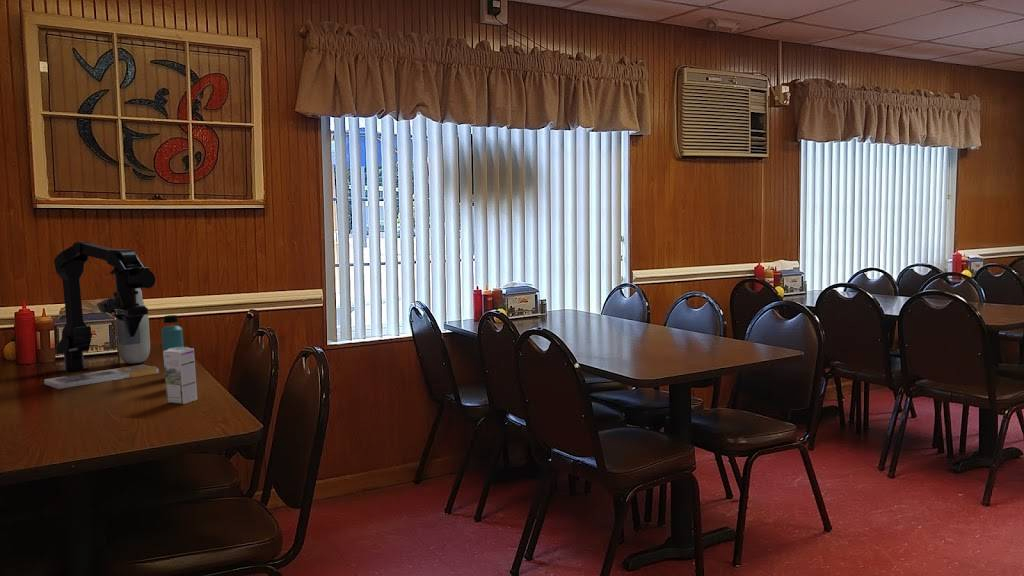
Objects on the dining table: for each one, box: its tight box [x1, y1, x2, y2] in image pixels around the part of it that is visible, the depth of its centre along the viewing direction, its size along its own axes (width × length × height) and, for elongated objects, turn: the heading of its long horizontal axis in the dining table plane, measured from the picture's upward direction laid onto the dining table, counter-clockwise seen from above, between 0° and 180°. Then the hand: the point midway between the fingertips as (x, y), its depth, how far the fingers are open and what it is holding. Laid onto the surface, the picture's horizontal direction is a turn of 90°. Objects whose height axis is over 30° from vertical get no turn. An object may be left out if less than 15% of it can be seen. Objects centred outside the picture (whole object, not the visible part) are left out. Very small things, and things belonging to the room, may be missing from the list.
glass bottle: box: [115, 288, 151, 365], centre depth 272 cm, size 10×10×28 cm
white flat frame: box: [44, 364, 160, 390], centre depth 246 cm, size 13×30×2 cm, turn 138°
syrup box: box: [162, 347, 198, 405], centre depth 209 cm, size 6×6×14 cm
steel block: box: [117, 319, 141, 345], centre depth 252 cm, size 5×5×8 cm
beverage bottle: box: [160, 314, 185, 375], centre depth 243 cm, size 6×7×20 cm
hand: (129, 335), depth 252 cm, fingers closed on steel block, 5 cm apart
